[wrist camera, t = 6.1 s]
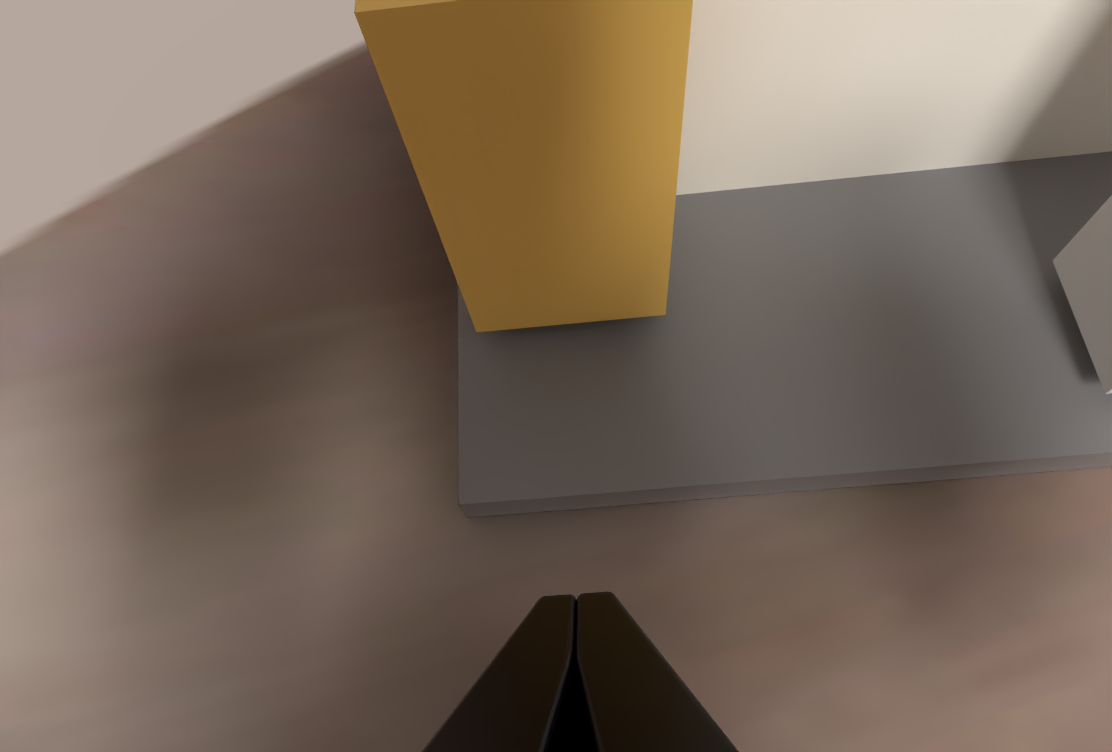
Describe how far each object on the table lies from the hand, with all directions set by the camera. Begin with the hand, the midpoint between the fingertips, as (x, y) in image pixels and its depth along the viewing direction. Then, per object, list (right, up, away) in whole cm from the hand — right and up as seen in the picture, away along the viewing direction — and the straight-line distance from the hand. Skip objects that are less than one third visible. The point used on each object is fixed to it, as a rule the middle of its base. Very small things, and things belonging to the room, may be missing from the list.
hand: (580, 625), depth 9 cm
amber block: (0, +5, +8) cm, 9 cm away
